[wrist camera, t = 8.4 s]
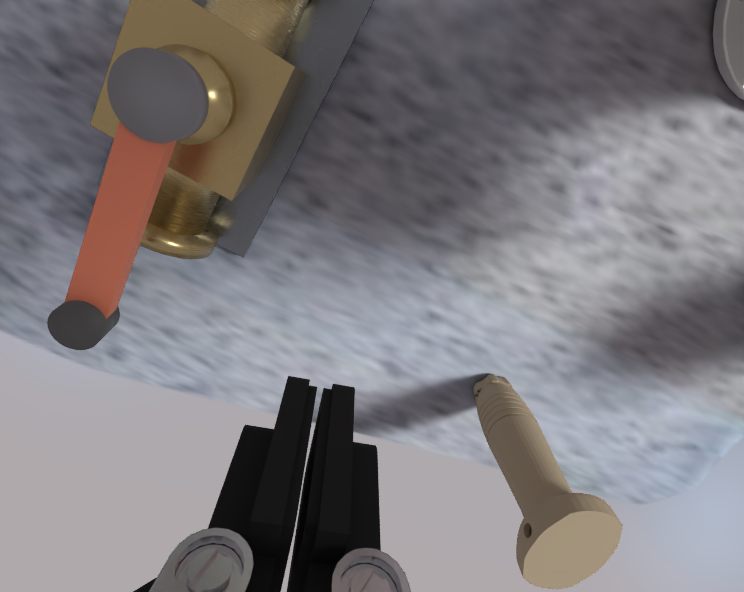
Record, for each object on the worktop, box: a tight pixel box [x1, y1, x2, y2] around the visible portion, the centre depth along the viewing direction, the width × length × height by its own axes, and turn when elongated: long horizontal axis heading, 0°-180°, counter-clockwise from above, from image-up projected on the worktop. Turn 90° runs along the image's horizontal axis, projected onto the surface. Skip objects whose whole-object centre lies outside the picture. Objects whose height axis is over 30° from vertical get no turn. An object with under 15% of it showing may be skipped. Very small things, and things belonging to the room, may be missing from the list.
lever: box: [48, 47, 209, 350], centre depth 18 cm, size 13×3×2 cm, turn 151°
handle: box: [473, 374, 622, 589], centre depth 31 cm, size 5×6×15 cm
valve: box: [90, 0, 374, 259], centre depth 23 cm, size 18×10×11 cm, turn 149°
